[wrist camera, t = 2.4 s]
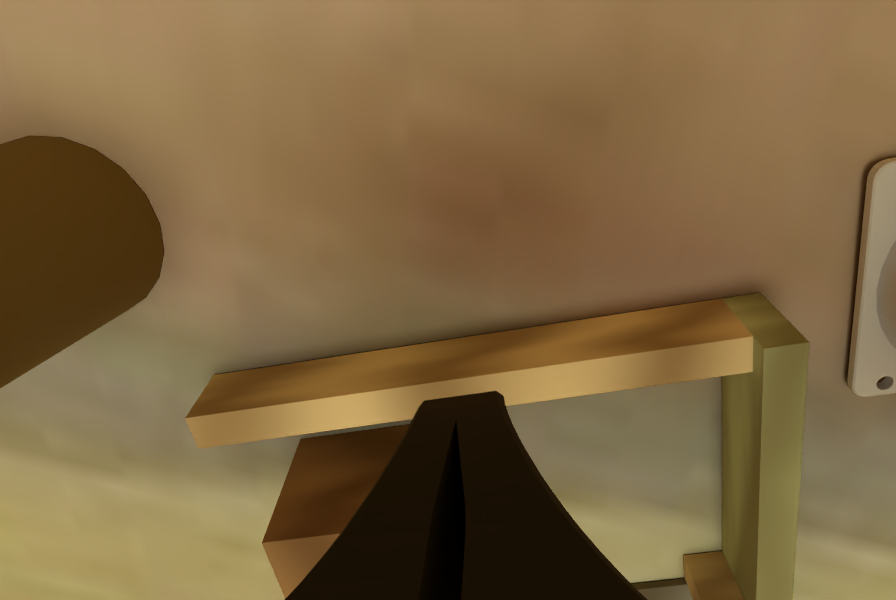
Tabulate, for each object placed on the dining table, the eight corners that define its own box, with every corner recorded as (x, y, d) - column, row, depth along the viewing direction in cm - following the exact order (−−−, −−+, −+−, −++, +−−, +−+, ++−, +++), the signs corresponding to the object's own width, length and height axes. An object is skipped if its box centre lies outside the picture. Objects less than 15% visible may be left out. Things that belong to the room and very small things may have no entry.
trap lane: (760, 292, 20) (809, 342, 17) (750, 683, 28) (781, 760, 26) (213, 375, 22) (175, 431, 19) (353, 718, 30) (341, 794, 27)
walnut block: (434, 418, 23) (426, 522, 18) (463, 540, 25) (462, 658, 21) (301, 437, 23) (261, 543, 19) (342, 554, 26) (316, 672, 21)
